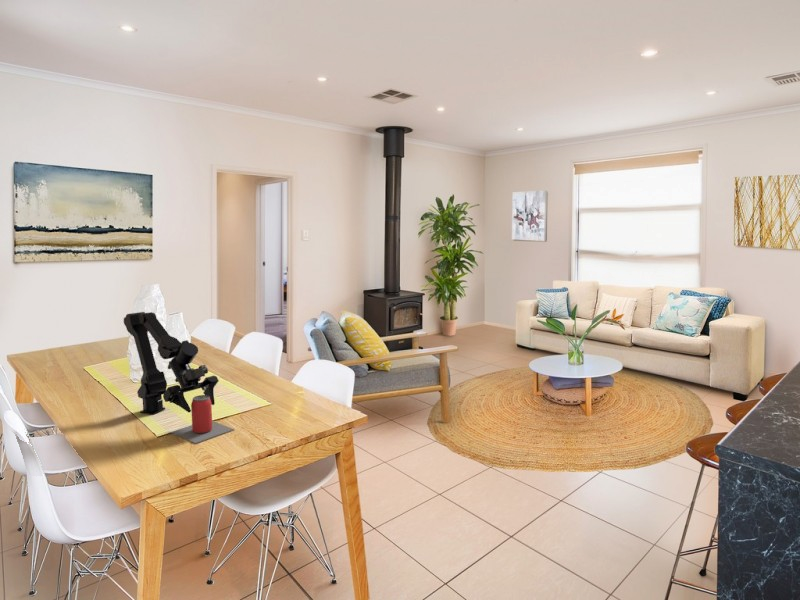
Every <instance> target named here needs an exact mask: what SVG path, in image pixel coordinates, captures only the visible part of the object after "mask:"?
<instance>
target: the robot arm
mask: <svg viewBox="0 0 800 600" xmlns="http://www.w3.org/2000/svg"><path fill="white" fill-rule="evenodd" d="M123 324H124V326H125V328H126V331H127V332H128V333H129V334H130V335H131V336H132V337H133V338H134V339H133V340H134V342H135V343H134V344H135V346H136V351H137V354H138V358H139V361H140V365H141V369H142V376H141V378H140V386H139V388H138V390H137V393H136V394H137V396H138V398H139V399H142V410H140V411H139V413H141V414H143V413H144V414H149V415H155V414H157V413H160V412H162V411H164V410H166V407H165V406H164V405H163V403H164V402H166V403H167V402H169V403H170V404H171V403H173V404H175V405H176V406H178V407H179V408H181V409H183V410H184V411H186V412H187V413H188V414H189V413H192V411H191V408H190V406H189V403H188V401H187V399H186V398H185V394H184V393H188V392H192V391H195V390H198V389H201V390H202V391H203V395H207V396H209V397H210V400H211V406H214V405H215V404H216V402H215V396H214V395H215V394H214V389H215V386H217V384H218V383H219V381H220V380H219V378H218V377H217V376H216V375H210V376H206V375H207V374H208V373H209V370H208V367H207V365H206V364H201V365H199V366H198V368H191V366H190V364H191V363H192V362H193V360H194V359H195V358H196V357H197V355H198V353H199V348H198V346H197V345H195V344H194V343H192V342H189V340H182V341H180V340H179V339H178V338H176V337H175V336H171V335H170V334H169V333H168V331H167V330H166V329H165V328H164V326H163V325H162V324H161V322H160V321H159V320H158V318H157V315H156V313H155V312H152V311H150V312H145V311H139V312H131V313H127V314H126V315H125V317H123ZM148 332H149V333H148ZM149 334H150V335H151V337H152V338H153V340H154V341H155V343H157V352H158V354H159V355H160V357H161V358H162V359H163V360H168V359H170V360H169V362H168V365H167V369H168V370H170V369H171V371H172V373H173V375H174V376H175V379H174V381H175V383H178V384H175V385H172V386H168V383H167V380H166V377H165V373H164V371H160V370H159V369H158V368H157V363H156V360H155V357H154V353H153V349H152V345H151V342H150V337H149ZM202 377H205V378H203V379H204V380H203V381H201V380H202ZM200 381H201V382H200ZM162 395H163V396H162ZM163 400H164V401H163Z"/></svg>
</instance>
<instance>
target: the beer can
mask: <svg viewBox="0 0 800 600" xmlns="http://www.w3.org/2000/svg"><path fill="white" fill-rule="evenodd" d="M190 406H191V408H190V409H191V425H192V430H193V432H195V433H206V432H209V431H211V429H212V421H213V411H212V409H213V407H212V406H213V405H212V404H211V400H210V397H209V396H207V395H205V394H201V395H195V396H193V397H192V399H191V405H190Z"/></svg>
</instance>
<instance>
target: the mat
mask: <svg viewBox="0 0 800 600" xmlns="http://www.w3.org/2000/svg"><path fill="white" fill-rule="evenodd" d="M233 431H235V429H234V428H232V427H229V426H227V425H224V424H222V423H219V422H217V421H214V420H212V429H211V431H209V432H206V433H195V432H193V430H192V424H191V425H187V426H185V427H182V428H179V429H175V430H173V431H171V432H170V434H172V435H174V436H176V437H178V438H180V439H183V440H184V441H187V442H190V443H192V444H195V445H198V444H200V443H203V442H205V441H209V440H211V439H213V438H217V437H219V436H222V435H225V434H227V433H231V432H233Z"/></svg>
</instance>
